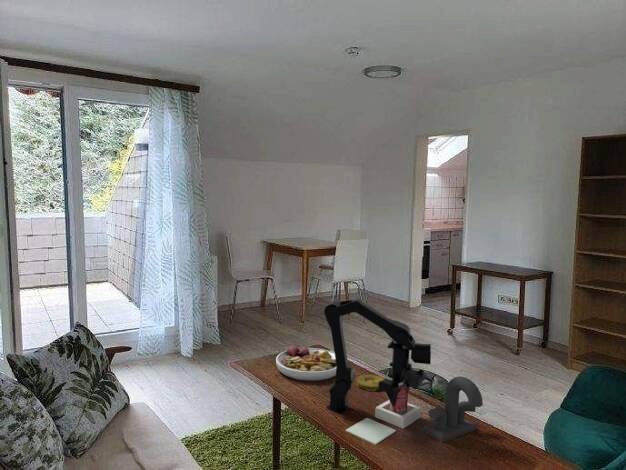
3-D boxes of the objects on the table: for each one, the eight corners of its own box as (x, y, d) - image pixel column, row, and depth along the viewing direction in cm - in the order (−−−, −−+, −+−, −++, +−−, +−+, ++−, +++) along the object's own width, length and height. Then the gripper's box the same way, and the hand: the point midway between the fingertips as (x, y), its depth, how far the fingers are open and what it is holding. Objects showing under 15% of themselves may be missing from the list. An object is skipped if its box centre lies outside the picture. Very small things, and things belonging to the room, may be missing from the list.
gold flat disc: (350, 384, 195) (350, 379, 195) (370, 377, 202) (370, 372, 202) (371, 394, 186) (371, 389, 185) (391, 387, 193) (391, 381, 193)
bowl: (357, 371, 208) (358, 354, 208) (307, 390, 188) (308, 371, 187) (311, 353, 230) (311, 337, 229) (262, 368, 210) (262, 351, 209)
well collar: (403, 428, 159) (403, 418, 158) (375, 416, 166) (375, 407, 166) (420, 417, 167) (420, 407, 167) (392, 406, 175) (393, 397, 174)
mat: (375, 444, 148) (375, 443, 148) (345, 431, 156) (345, 429, 156) (396, 431, 157) (396, 430, 157) (366, 418, 165) (366, 417, 165)
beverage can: (394, 411, 171) (395, 379, 170) (409, 416, 167) (411, 384, 166) (385, 417, 166) (387, 384, 165) (401, 423, 162) (402, 389, 161)
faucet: (458, 454, 144) (462, 391, 142) (421, 431, 158) (424, 373, 156) (496, 439, 154) (500, 380, 152) (458, 418, 167) (462, 364, 165)
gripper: (406, 374, 153) (404, 420, 154) (434, 360, 166) (432, 402, 168) (378, 365, 160) (376, 409, 162) (406, 352, 174) (405, 392, 175)
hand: (398, 403), depth 166 cm, fingers closed on beverage can, 6 cm apart
